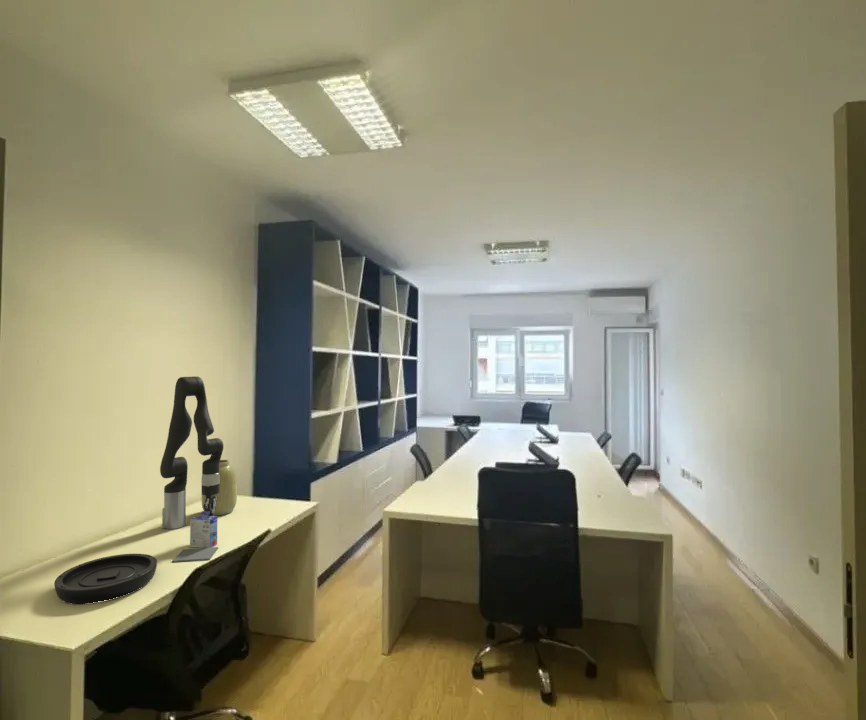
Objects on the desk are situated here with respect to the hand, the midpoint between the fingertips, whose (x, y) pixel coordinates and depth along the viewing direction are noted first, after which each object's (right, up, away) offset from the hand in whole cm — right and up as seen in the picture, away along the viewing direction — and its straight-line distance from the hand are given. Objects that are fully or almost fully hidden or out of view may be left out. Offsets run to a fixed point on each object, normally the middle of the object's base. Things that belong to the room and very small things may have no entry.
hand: (210, 521), depth 212 cm
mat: (+3, -7, -19) cm, 21 cm away
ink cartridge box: (+1, -8, -9) cm, 12 cm away
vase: (-13, -8, +38) cm, 41 cm away
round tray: (-15, -8, -45) cm, 48 cm away
